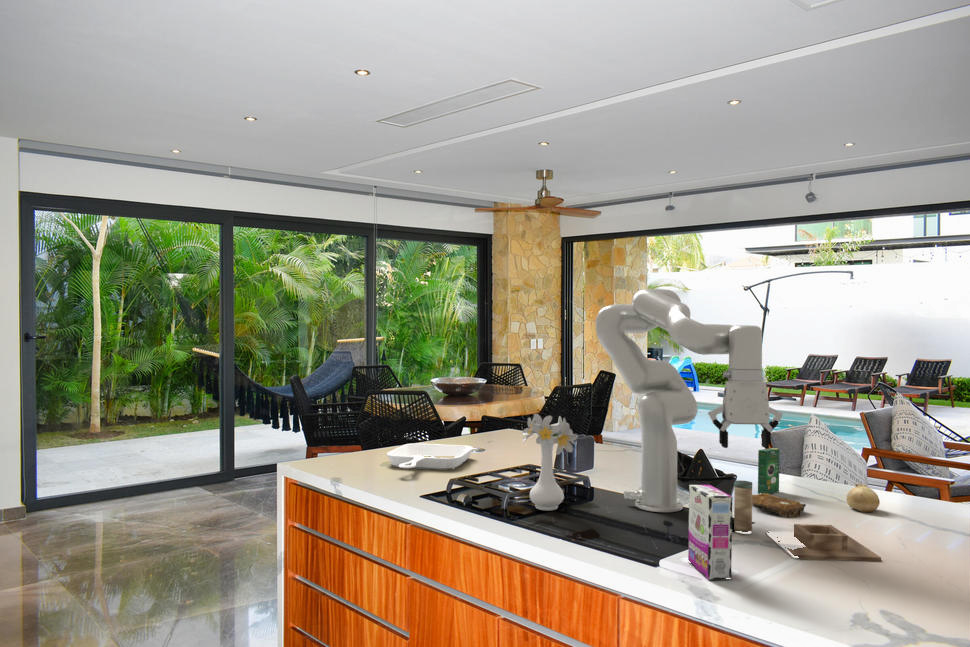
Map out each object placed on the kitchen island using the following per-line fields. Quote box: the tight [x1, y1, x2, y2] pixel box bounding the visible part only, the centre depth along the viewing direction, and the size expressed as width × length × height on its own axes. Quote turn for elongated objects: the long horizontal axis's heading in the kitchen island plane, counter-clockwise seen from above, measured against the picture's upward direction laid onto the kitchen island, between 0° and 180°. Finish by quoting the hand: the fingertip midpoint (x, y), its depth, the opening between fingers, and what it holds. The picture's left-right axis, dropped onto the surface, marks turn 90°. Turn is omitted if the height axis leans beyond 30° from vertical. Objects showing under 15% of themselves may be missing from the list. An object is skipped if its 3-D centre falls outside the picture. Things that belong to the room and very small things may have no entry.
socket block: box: [766, 523, 882, 562], centre depth 158 cm, size 18×18×4 cm
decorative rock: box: [752, 493, 807, 518], centre depth 190 cm, size 11×4×15 cm
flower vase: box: [521, 413, 579, 512], centre depth 190 cm, size 13×18×25 cm
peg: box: [733, 480, 753, 532], centre depth 169 cm, size 4×4×12 cm
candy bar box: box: [687, 484, 734, 581], centre depth 142 cm, size 11×5×16 cm, turn 5°
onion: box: [845, 482, 881, 513], centre depth 190 cm, size 8×8×7 cm
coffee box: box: [757, 447, 780, 495], centre depth 210 cm, size 8×3×13 cm, turn 129°
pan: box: [386, 442, 474, 471], centre depth 245 cm, size 27×42×5 cm, turn 167°
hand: (744, 447), depth 169 cm, fingers open, 9 cm apart
